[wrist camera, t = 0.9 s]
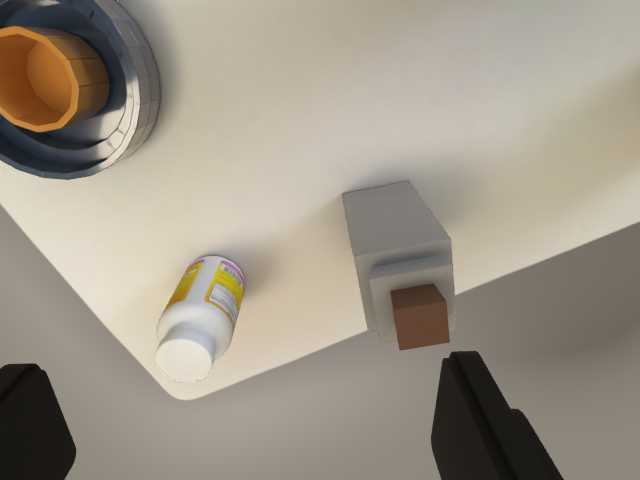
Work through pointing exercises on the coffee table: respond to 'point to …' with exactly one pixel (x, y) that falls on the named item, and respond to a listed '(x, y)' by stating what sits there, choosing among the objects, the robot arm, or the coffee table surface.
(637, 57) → the coffee table surface
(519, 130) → the coffee table surface
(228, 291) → the supplement bottle
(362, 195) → the perfume bottle
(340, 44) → the coffee table surface
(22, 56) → the small bowl
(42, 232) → the coffee table surface
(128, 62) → the serving bowl
